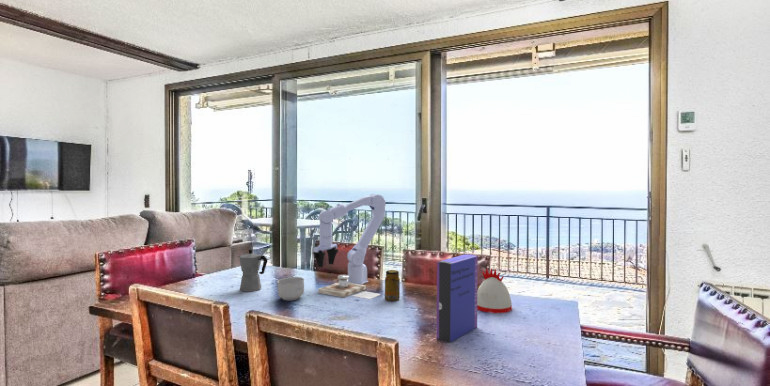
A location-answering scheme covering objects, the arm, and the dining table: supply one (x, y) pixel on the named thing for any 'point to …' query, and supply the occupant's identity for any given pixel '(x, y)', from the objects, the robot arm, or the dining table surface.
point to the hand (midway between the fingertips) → (325, 265)
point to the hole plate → (340, 292)
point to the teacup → (290, 288)
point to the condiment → (392, 285)
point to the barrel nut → (343, 281)
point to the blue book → (456, 297)
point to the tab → (367, 295)
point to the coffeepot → (251, 271)
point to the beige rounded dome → (493, 294)
